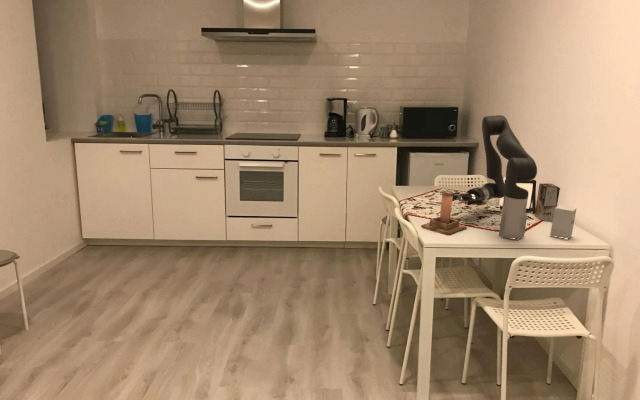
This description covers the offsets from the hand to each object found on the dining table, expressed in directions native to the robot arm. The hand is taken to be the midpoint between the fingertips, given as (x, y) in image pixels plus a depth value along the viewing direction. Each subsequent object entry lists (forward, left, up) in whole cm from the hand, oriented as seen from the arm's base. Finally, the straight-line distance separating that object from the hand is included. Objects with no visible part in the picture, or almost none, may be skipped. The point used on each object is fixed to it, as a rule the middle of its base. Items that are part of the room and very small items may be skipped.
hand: (459, 200), depth 230 cm
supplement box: (-38, -20, -11) cm, 44 cm away
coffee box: (-22, -42, -11) cm, 49 cm away
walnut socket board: (0, +11, -10) cm, 15 cm away
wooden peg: (0, +11, -9) cm, 14 cm away
